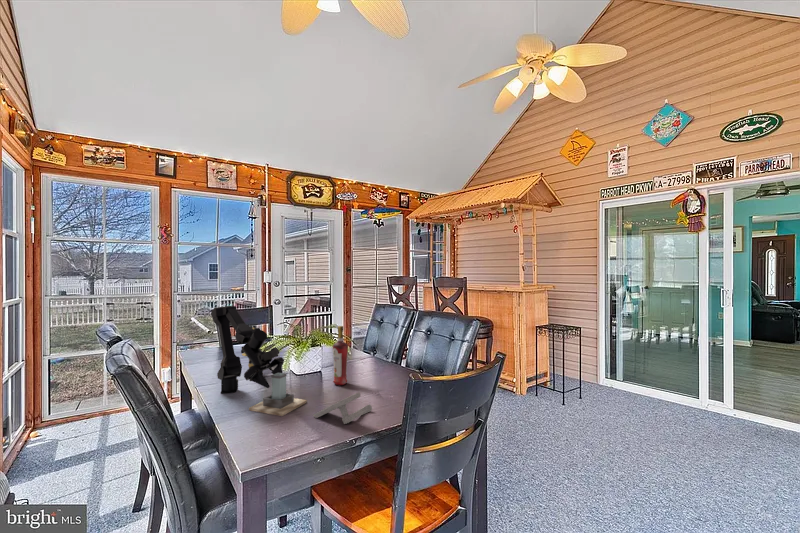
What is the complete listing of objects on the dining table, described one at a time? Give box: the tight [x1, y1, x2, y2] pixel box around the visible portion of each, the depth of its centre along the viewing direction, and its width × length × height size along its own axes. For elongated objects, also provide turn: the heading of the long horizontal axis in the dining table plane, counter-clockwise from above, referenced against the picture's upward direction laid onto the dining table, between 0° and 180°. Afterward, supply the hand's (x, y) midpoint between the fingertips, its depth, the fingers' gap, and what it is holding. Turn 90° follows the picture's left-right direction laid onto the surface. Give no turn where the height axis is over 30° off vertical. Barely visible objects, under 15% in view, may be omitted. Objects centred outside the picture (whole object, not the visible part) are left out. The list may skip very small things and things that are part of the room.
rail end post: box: [270, 372, 287, 400], centre depth 158 cm, size 4×4×12 cm
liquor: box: [332, 325, 349, 386], centre depth 188 cm, size 7×7×28 cm
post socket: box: [248, 392, 308, 417], centre depth 158 cm, size 16×16×4 cm
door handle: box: [312, 391, 373, 425], centre depth 148 cm, size 18×8×20 cm
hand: (276, 384), depth 158 cm, fingers open, 9 cm apart
